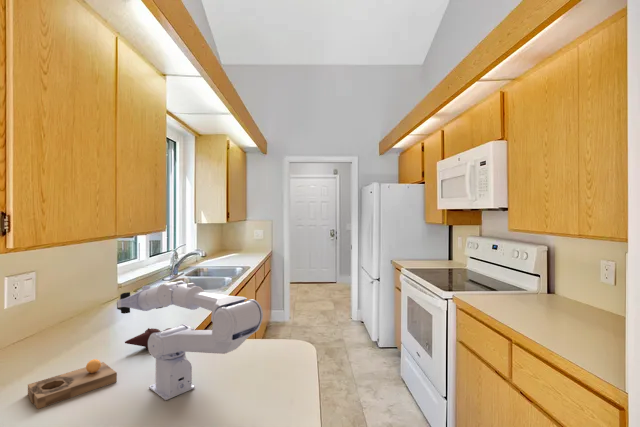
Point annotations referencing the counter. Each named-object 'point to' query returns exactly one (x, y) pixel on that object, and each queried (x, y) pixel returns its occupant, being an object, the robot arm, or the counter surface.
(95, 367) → the ball
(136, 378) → the counter surface
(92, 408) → the counter surface
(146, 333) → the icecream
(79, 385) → the board
